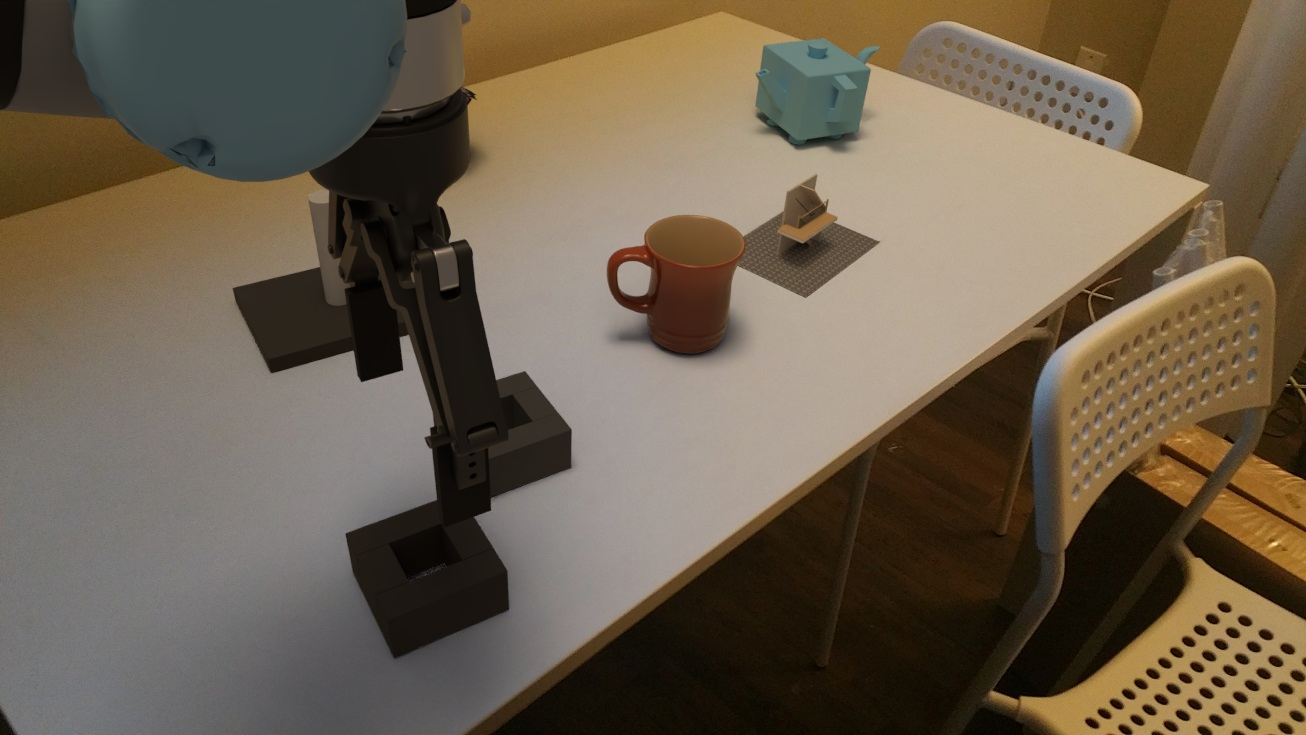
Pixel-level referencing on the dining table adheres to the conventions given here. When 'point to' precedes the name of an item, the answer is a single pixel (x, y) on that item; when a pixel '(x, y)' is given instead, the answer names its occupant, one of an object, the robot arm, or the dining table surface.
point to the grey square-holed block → (527, 437)
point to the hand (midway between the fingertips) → (419, 438)
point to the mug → (683, 280)
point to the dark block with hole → (426, 576)
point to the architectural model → (803, 243)
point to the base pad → (303, 305)
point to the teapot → (813, 88)
